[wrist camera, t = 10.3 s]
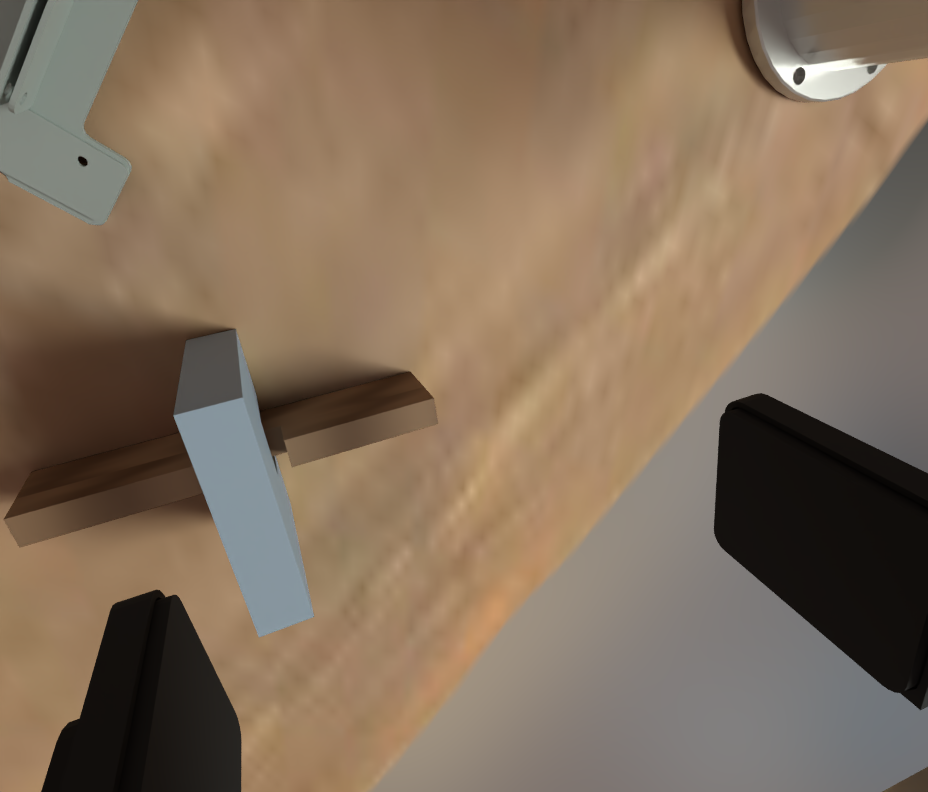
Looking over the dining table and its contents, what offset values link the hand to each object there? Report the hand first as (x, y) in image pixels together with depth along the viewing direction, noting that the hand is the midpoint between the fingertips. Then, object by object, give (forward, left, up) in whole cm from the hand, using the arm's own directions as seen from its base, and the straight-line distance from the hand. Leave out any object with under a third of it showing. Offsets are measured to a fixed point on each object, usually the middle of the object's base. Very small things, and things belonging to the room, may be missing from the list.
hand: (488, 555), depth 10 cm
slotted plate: (+5, +6, -21) cm, 23 cm away
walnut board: (+5, +6, -21) cm, 23 cm away
